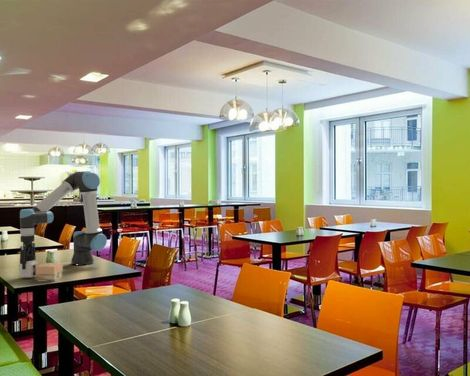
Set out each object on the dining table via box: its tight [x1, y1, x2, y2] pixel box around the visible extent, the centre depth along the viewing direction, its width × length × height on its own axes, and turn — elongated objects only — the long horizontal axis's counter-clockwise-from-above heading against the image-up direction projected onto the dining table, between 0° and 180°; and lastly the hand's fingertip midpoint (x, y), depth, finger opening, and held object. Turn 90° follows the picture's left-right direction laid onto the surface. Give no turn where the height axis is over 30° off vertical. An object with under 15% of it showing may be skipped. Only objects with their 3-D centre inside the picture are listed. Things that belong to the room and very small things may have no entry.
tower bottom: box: [35, 270, 63, 281], centre depth 260 cm, size 11×11×4 cm
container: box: [18, 254, 39, 278], centre depth 263 cm, size 8×8×13 cm
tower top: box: [36, 262, 64, 274], centre depth 260 cm, size 11×11×4 cm
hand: (28, 273), depth 264 cm, fingers closed on container, 8 cm apart
